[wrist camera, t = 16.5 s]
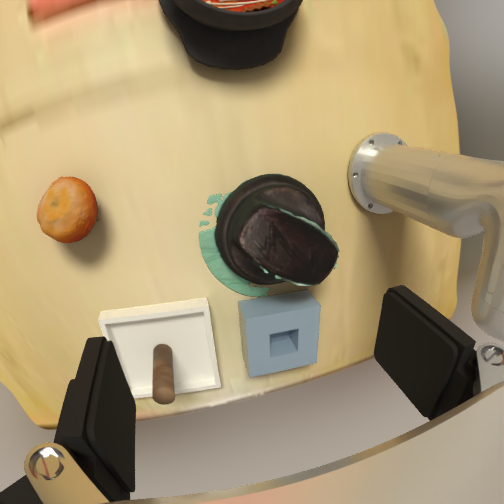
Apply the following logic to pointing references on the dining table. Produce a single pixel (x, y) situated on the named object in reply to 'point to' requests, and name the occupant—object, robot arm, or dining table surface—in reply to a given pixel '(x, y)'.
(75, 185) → the fruit
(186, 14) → the casserole
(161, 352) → the pin
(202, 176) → the dining table surface
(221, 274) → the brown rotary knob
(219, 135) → the dining table surface
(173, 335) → the tray
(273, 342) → the holder
